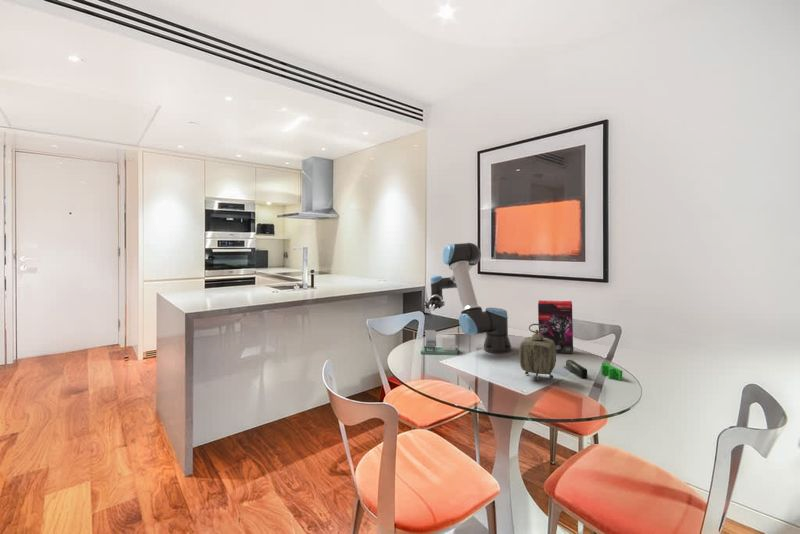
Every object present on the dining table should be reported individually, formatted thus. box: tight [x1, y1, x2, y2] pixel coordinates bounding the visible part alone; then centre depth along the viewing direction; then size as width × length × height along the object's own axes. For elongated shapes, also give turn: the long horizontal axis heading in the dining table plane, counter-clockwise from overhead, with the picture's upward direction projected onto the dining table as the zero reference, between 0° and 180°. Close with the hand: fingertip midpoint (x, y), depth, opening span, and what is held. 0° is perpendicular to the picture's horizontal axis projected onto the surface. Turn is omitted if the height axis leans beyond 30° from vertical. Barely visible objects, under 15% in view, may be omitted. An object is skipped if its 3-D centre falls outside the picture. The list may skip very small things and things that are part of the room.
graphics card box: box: [537, 300, 574, 354], centre depth 203 cm, size 17×7×27 cm, turn 68°
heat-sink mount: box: [420, 334, 459, 355], centre depth 213 cm, size 20×8×9 cm, turn 79°
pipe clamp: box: [600, 362, 623, 382], centre depth 167 cm, size 11×4×5 cm, turn 10°
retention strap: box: [424, 329, 437, 347], centre depth 215 cm, size 6×4×10 cm, turn 79°
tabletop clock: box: [518, 323, 557, 382], centre depth 167 cm, size 14×9×25 cm, turn 59°
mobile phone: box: [563, 359, 588, 380], centre depth 173 cm, size 5×3×15 cm
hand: (431, 308), depth 224 cm, fingers closed
